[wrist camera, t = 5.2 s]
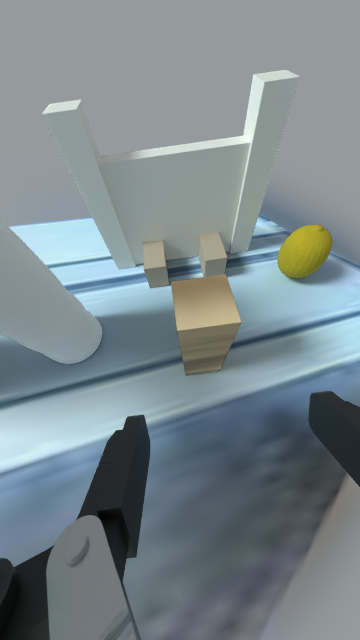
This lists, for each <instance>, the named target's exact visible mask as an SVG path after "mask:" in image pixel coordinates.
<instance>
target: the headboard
mask: <svg viewBox="0 0 360 640" xmlns="http://www.w3.org/2000/svg"><path fill="white" fill-rule="evenodd" d="M299 79H300V76H298V75H296V74H293V73H291V72H289V71H287V70H282V71H275V72H268V73H261V74H254V75H253V80H252V86H251V93H250V99H249V105H248V111H247V117H246V123H245V129H244V135H243V136H239V137H232V138H225V139H218V140H210V141H204V142H196V143H190V144H183V145H176V146H168V147H161V148H155V149H148V150H140V151H133V152H126V153H119V154H112V155H106V156H101V154H100V151H99V148H98V145H97V142H96V139H95V136H94V134H93V131H92V128H91V125H90V122H89V119H88V117H87V114H86V111H85V108H84V105H83V102H82V100H75V101H68V102H61V103H54V104H49V106H48V107H47V108H46V109H45V110H44V112H43V113H42V114H41V115H42V117H43V119H44V120H45V123H46V125H47V127H48V129H49V130H50V133H51V135H52V137H53V139H54V141H55V143H56V145H57V147H58V149H59V151H60V153H61V155H62V157H63V159H64V161H65V163H66V165H67V167H68V169H69V171H70V173H71V175H72V177H73V179H74V181H75V183H76V185H77V187H78V189H79V191H80V193H81V195H82V197H83V199H84V201H85V203H86V205H87V207H88V209H89V211H90V213H91V215H92V217H93V219H94V221H95V223H96V225H97V227H98V229H99V231H100V233H101V235H102V237H103V239H104V241H105V243H106V245H107V247H108V249H109V252H110V254H111V256H112V258H113V260H114V262H115V264H116V266H117V268H118V269H124V268H131V267H136V265H137V264H144V271H145V274H146V277H147V280H148V283H149V286H150V288H153V287H161V286H168V285H169V279H168V270H167V261H166V260H173V259H181V258H188V257H195V256H199V260H200V264H201V268H202V273H203V277H209V276H216V275H224V273H225V268H226V262H227V255H226V252H229V253H230V254H232V253H239V252H246V251H248V248H249V245H250V242H251V238H252V235H253V232H254V229H255V225H256V222H257V219H258V215H259V212H260V209H261V205H262V202H263V198H264V195H265V192H266V188H267V185H268V182H269V179H270V175H271V172H272V169H273V165H274V162H275V159H276V155H277V152H278V149H279V145H280V142H281V139H282V135H283V132H284V129H285V126H286V122H287V119H288V116H289V112H290V109H291V106H292V102H293V99H294V96H295V92H296V89H297V85H298V82H299Z"/></svg>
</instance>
